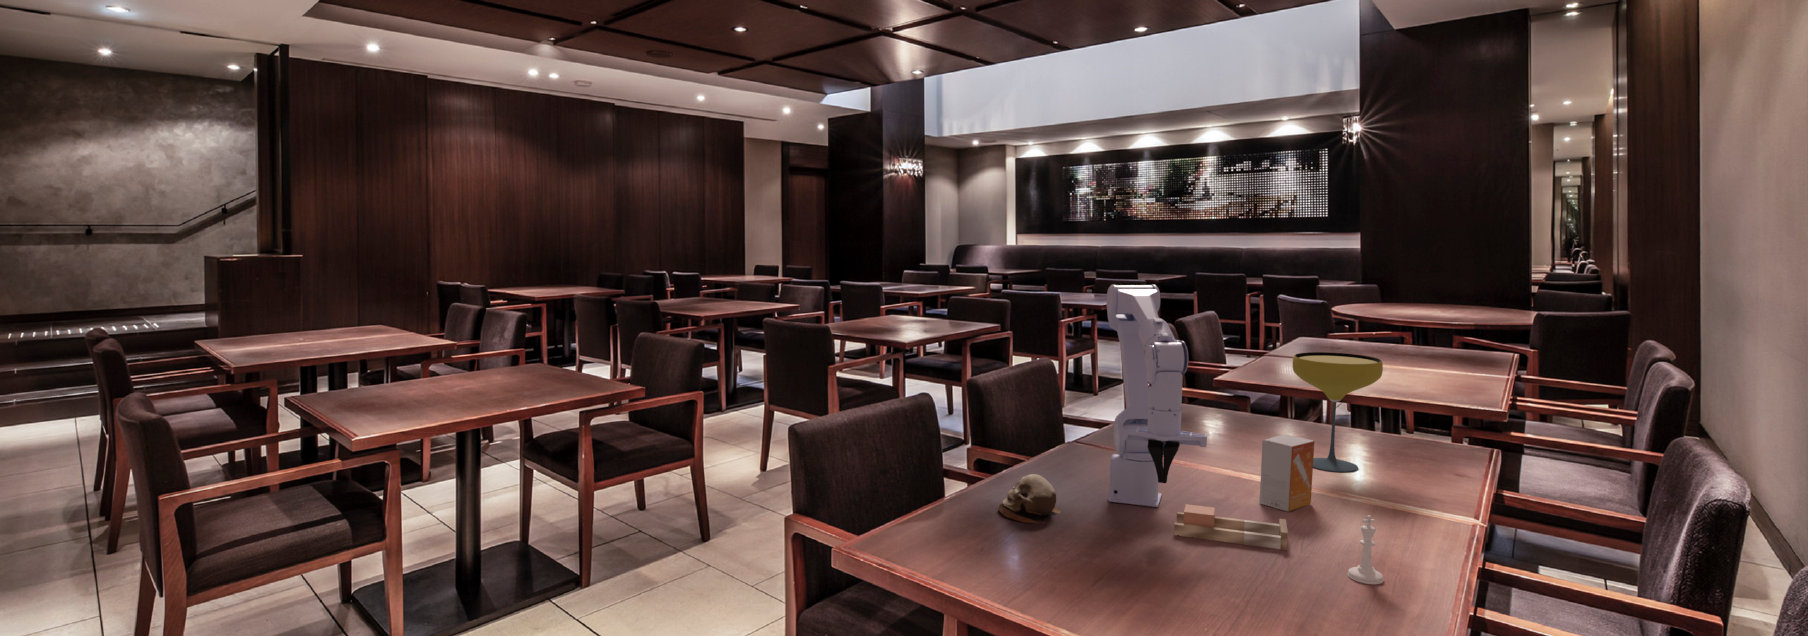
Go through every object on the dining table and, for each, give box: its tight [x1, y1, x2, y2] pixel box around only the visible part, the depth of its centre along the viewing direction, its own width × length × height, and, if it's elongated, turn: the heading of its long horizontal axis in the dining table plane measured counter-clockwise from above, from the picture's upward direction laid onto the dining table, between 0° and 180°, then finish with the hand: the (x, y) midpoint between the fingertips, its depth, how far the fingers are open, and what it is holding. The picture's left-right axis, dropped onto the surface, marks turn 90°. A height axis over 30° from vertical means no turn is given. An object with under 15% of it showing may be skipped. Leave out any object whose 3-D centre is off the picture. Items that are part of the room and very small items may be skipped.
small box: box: [1259, 433, 1315, 512], centre depth 161 cm, size 8×6×13 cm
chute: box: [1173, 511, 1289, 551], centre depth 145 cm, size 18×7×3 cm, turn 67°
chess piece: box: [1347, 514, 1384, 585], centre depth 127 cm, size 5×5×10 cm
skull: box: [998, 473, 1062, 524], centre depth 157 cm, size 12×10×10 cm
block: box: [1183, 503, 1216, 527], centre depth 147 cm, size 5×4×4 cm
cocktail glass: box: [1292, 351, 1384, 473], centre depth 186 cm, size 18×18×25 cm
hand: (1162, 481), depth 148 cm, fingers closed
